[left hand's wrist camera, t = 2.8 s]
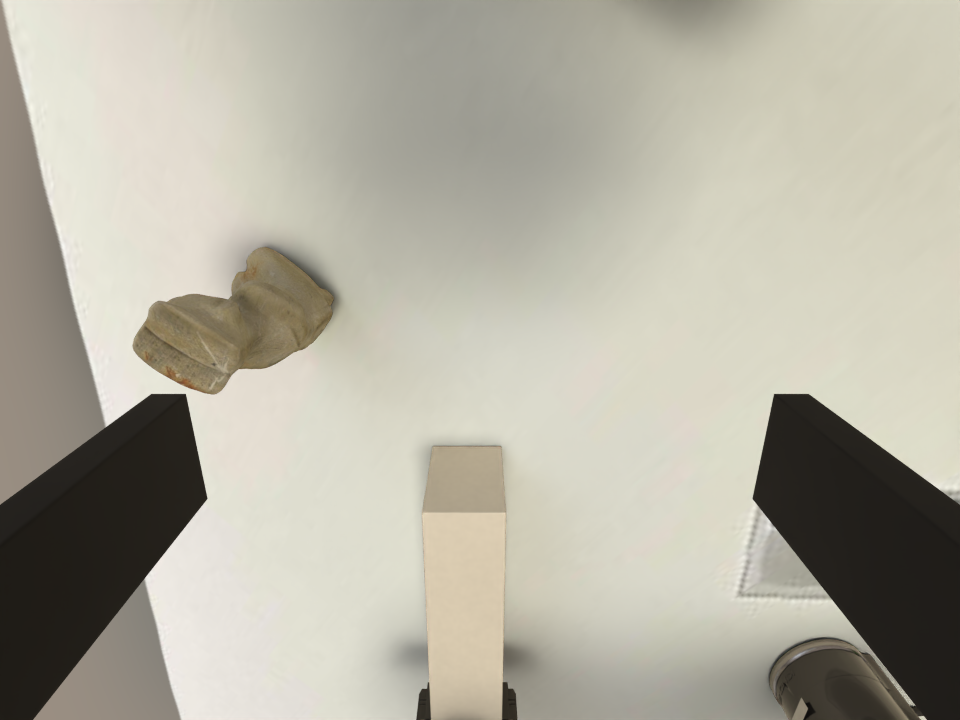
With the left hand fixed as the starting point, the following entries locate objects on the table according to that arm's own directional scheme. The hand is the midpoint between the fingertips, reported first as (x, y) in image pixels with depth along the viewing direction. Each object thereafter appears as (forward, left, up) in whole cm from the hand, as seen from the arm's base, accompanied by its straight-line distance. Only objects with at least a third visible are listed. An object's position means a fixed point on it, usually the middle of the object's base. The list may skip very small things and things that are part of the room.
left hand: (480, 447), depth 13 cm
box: (+30, -1, -30) cm, 42 cm away
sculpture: (+3, -14, -30) cm, 33 cm away
